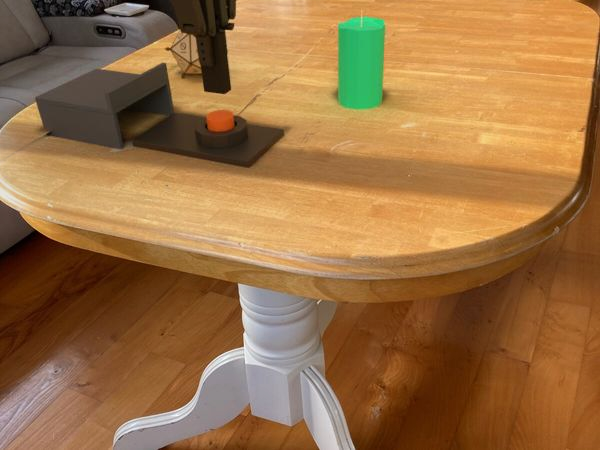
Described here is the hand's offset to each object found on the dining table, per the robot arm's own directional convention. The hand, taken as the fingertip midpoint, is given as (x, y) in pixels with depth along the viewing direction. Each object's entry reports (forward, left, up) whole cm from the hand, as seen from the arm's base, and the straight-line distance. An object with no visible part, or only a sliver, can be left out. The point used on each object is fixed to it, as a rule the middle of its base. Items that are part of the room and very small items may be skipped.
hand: (217, 90), depth 67 cm
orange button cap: (0, 0, -5) cm, 5 cm away
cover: (-17, 0, -7) cm, 18 cm away
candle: (+11, +18, -7) cm, 22 cm away
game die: (-16, +20, -7) cm, 27 cm away
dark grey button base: (-2, 0, -7) cm, 7 cm away
